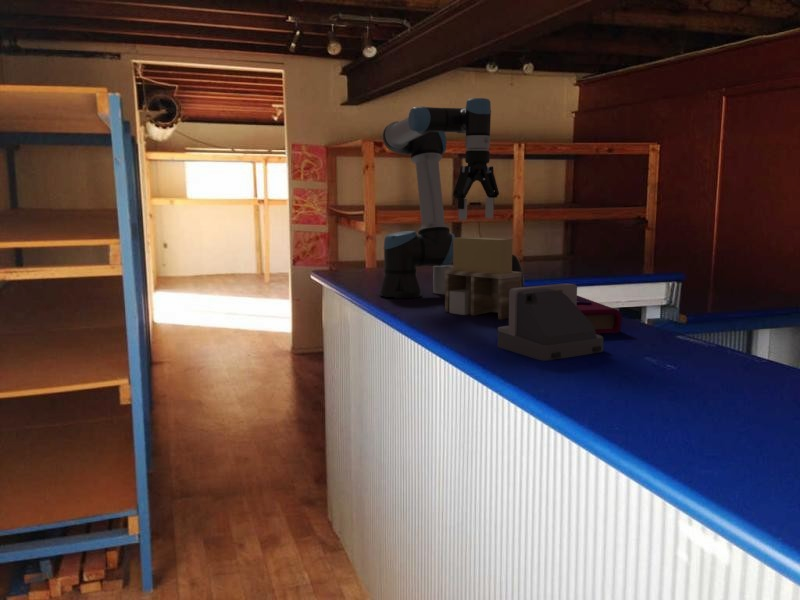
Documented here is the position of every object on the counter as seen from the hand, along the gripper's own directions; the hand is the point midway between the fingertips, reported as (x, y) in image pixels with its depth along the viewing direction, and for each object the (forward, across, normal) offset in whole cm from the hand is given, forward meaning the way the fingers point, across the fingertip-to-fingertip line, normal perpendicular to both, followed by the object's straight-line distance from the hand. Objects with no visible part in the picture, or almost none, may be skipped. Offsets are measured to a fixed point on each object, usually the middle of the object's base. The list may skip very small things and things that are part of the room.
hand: (476, 219), depth 217 cm
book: (+29, -6, -36) cm, 46 cm away
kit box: (+15, -5, -6) cm, 17 cm away
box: (+29, -7, -2) cm, 30 cm away
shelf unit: (+29, -6, -7) cm, 30 cm away
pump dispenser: (+30, +31, +8) cm, 44 cm away
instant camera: (+28, -34, -49) cm, 66 cm away
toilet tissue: (+30, +23, +30) cm, 49 cm away
